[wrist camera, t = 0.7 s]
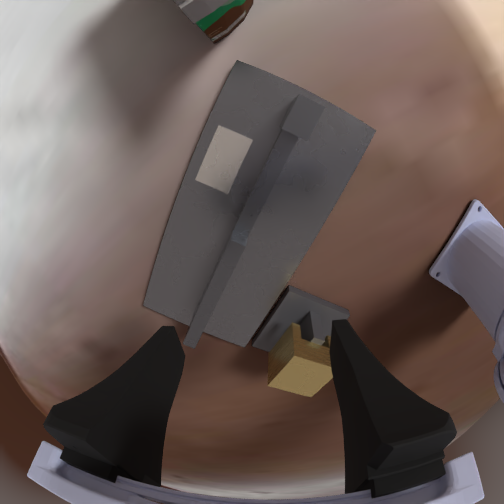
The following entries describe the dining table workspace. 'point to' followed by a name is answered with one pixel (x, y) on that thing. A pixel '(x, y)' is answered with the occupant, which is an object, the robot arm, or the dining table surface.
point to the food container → (216, 15)
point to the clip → (299, 363)
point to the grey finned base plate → (299, 318)
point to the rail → (251, 203)
